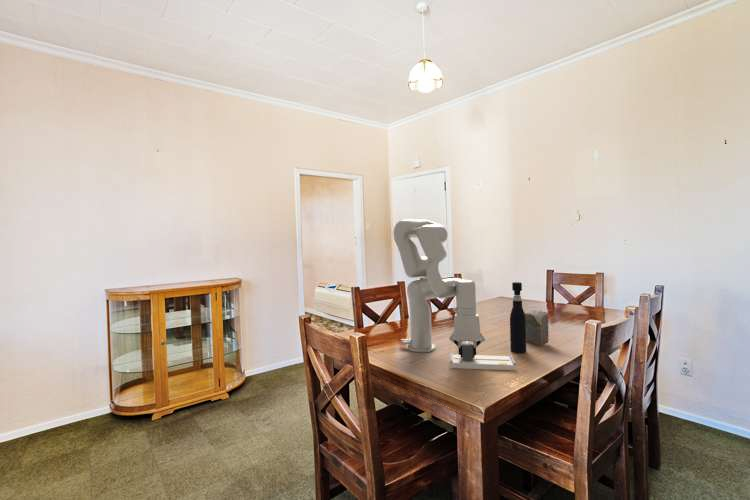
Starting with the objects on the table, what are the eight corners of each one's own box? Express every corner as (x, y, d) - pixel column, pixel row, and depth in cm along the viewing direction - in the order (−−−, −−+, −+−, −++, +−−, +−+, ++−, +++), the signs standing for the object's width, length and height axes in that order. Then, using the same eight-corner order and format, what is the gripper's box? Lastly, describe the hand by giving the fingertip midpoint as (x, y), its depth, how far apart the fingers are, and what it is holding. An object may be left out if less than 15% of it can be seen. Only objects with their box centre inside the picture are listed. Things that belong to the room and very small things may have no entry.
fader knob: (462, 360, 141) (462, 345, 141) (462, 355, 147) (461, 340, 147) (473, 361, 140) (472, 345, 140) (472, 356, 146) (471, 341, 146)
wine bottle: (527, 354, 153) (526, 283, 152) (511, 353, 154) (510, 283, 153) (524, 349, 159) (523, 281, 158) (509, 348, 160) (507, 281, 159)
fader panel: (450, 367, 140) (450, 360, 140) (450, 359, 150) (450, 352, 150) (515, 370, 135) (515, 363, 135) (511, 361, 145) (511, 354, 145)
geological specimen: (521, 340, 172) (520, 309, 171) (530, 338, 174) (530, 308, 174) (540, 346, 162) (539, 313, 162) (549, 344, 165) (549, 312, 164)
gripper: (444, 313, 141) (445, 359, 141) (489, 313, 137) (490, 360, 138) (444, 309, 148) (446, 353, 149) (487, 309, 145) (488, 354, 145)
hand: (467, 356), depth 143 cm, fingers closed on fader knob, 4 cm apart
